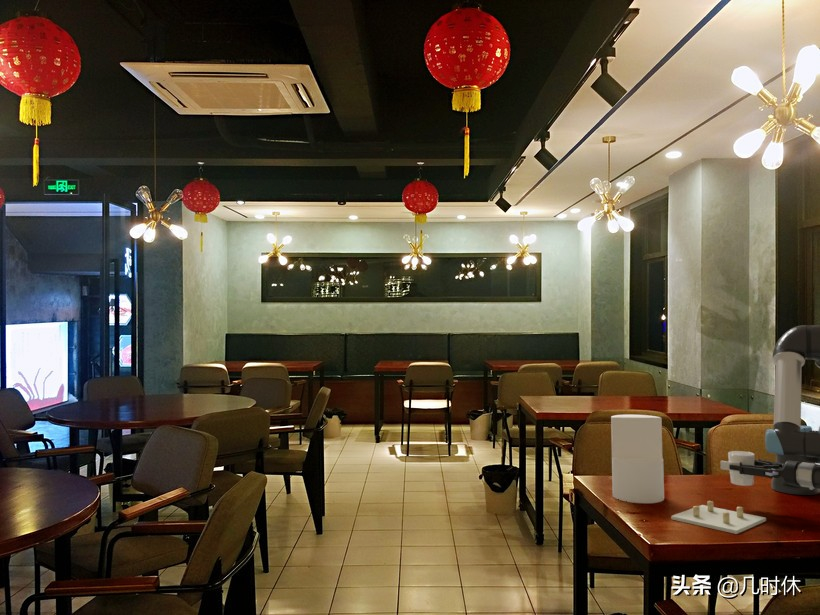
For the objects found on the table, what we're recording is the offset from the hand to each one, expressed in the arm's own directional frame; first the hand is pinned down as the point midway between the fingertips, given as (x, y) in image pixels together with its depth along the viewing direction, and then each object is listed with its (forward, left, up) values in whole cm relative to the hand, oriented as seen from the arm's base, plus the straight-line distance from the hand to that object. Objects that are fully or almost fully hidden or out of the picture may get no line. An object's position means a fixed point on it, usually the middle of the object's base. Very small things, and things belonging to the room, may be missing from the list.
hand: (726, 462), depth 222 cm
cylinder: (+27, -10, -14) cm, 32 cm away
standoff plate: (+12, +19, -14) cm, 26 cm away
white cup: (-3, +4, -6) cm, 8 cm away
